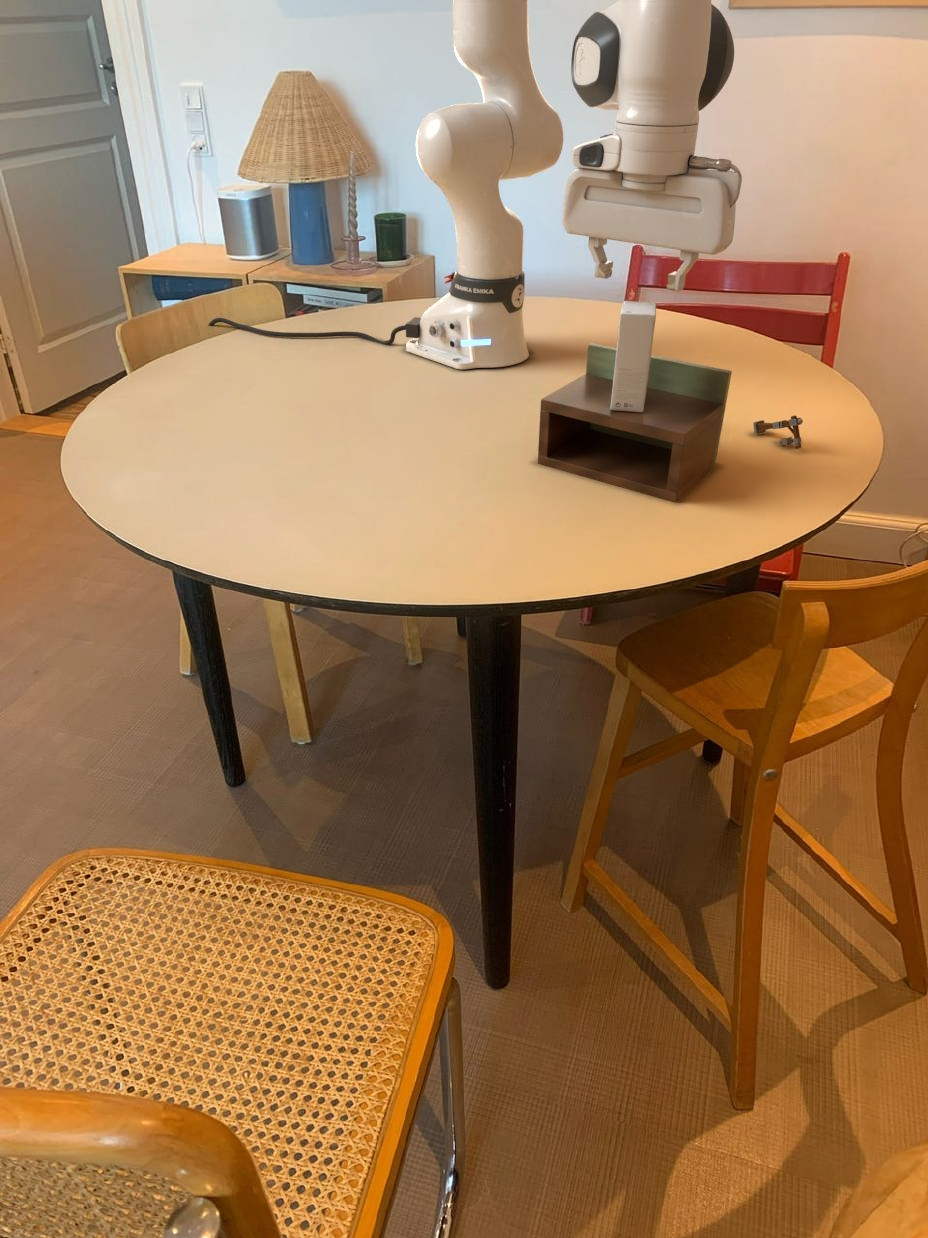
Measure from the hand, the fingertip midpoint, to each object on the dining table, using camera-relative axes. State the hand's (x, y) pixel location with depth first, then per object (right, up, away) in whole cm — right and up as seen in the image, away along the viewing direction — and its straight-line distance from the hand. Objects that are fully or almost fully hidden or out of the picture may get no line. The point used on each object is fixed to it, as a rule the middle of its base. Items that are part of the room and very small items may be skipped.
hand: (638, 283), depth 103 cm
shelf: (+1, -19, +13) cm, 24 cm away
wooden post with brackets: (+24, -15, +20) cm, 35 cm away
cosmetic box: (0, -13, +8) cm, 15 cm away
